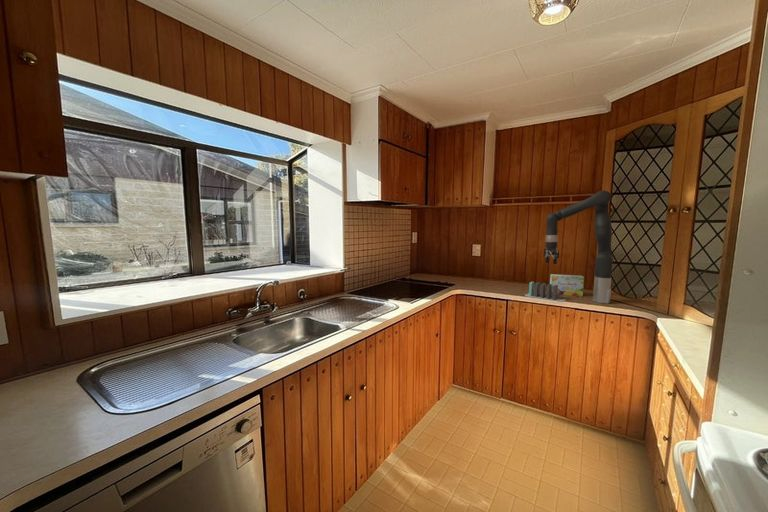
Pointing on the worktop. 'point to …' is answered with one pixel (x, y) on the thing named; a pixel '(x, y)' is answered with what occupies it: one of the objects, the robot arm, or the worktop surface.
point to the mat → (547, 299)
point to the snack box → (568, 284)
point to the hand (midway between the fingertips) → (550, 263)
